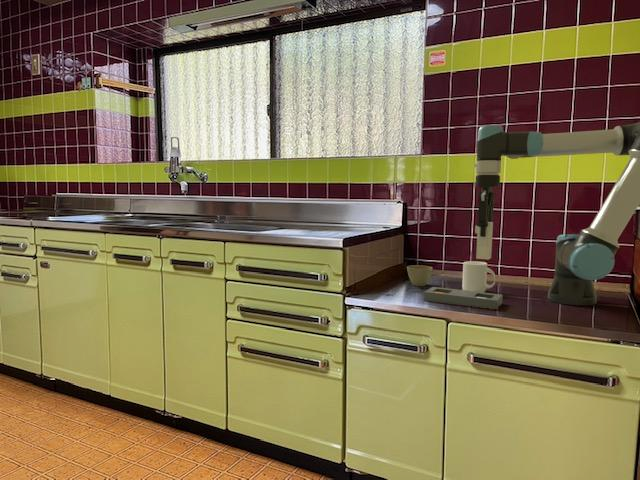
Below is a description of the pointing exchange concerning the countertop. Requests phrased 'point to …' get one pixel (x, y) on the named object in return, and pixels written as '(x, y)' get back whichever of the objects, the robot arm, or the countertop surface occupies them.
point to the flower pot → (419, 274)
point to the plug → (486, 251)
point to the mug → (476, 276)
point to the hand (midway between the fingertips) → (484, 245)
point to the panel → (463, 297)
